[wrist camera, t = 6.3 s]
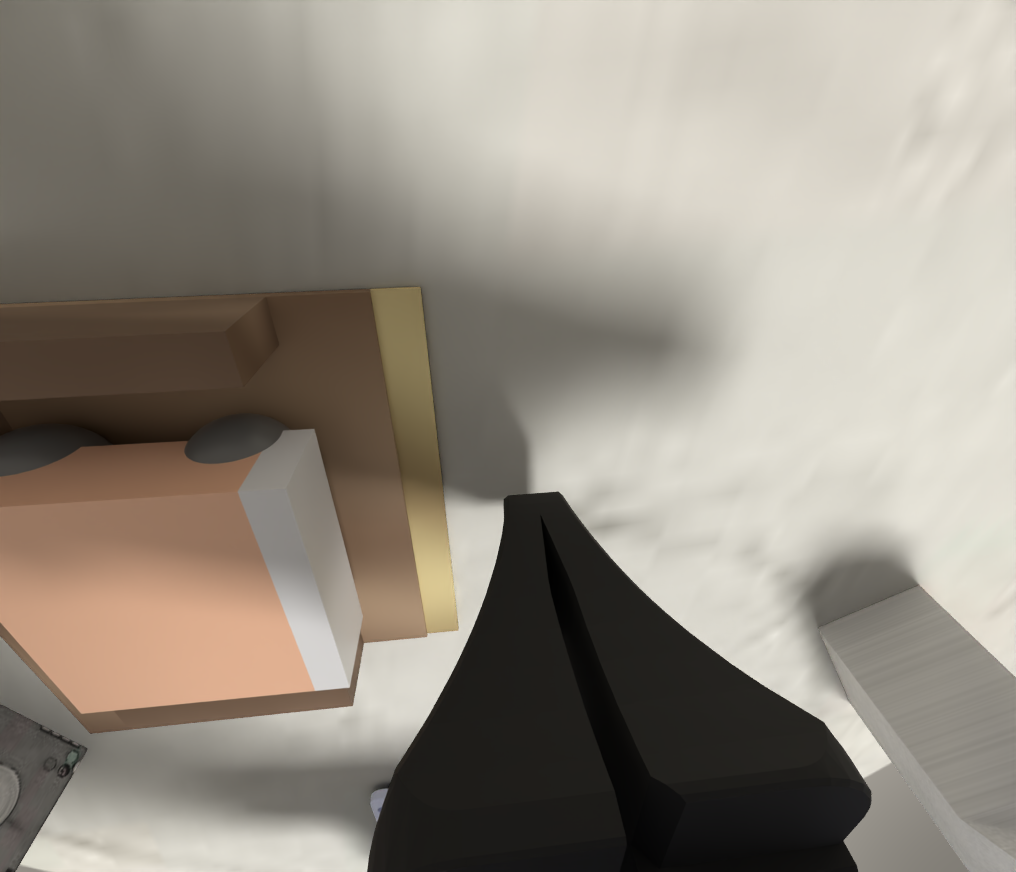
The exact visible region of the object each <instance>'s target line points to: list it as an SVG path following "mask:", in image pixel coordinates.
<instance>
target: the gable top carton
mask: <svg viewBox="0 0 1016 872" xmlns="http://www.w3.org/2000/svg"><path fill="white" fill-rule="evenodd" d="M818 630H819V632H820V635H821V637H822V639H823V642H824V644H825V646H826V648H827V651H828V653H829V655H830V658H831V660H832V662H833V665H834V667H835V669H836V671H837V674H838V676H839V678H840V681H841V683H842V685H843V688H844V690H845V692H846V694H847V697H848V699H849V701H850V703H851V705H852V706H853V708H854V709H855V711H856V712H857V713H858V715H859V716H860V718H861V719H862V720H863V722H864V723H865V725H866V726H867V728H868V729H869V730H870V732H871V733H872V735H873V736H874V737H875V739H876V740H877V742H878V743H879V745H880V746H881V747H882V749H883V750H884V752H885V753H886V754H887V756H888V757H889V759H890V760H891V762H892V763H893V764H894V766H895V767H896V769H897V770H898V771H899V773H900V774H901V776H902V777H903V778H904V780H905V781H906V783H907V784H908V786H909V787H910V788H911V790H912V791H913V793H914V794H915V796H916V797H917V798H918V800H919V801H920V803H921V804H922V806H923V807H924V808H925V810H926V811H927V813H928V814H929V815H930V817H931V818H932V820H933V821H934V823H935V824H936V825H937V827H938V828H939V830H940V831H941V833H942V834H943V835H944V837H945V838H946V840H947V841H948V842H949V844H950V845H951V847H952V848H953V849H954V851H955V852H956V854H957V855H958V857H959V858H960V859H961V861H962V862H963V864H964V865H965V866H966V868H967V869H968V871H969V872H1016V677H1015V676H1014V675H1013V674H1011V673H1010V672H1009V671H1008V670H1007V669H1006V668H1005V667H1004V666H1003V665H1002V664H1001V663H1000V662H999V661H998V660H997V659H996V658H995V657H994V656H993V655H992V654H991V653H990V652H988V651H987V650H986V649H985V648H984V647H983V646H982V645H981V644H980V643H979V642H978V641H977V640H976V639H975V638H974V637H973V636H972V635H971V634H970V633H969V632H968V631H967V630H965V629H964V628H963V627H962V626H961V625H960V624H959V623H958V622H957V621H956V620H955V619H954V618H953V617H952V616H951V615H950V614H949V613H948V612H947V611H946V610H945V609H944V608H942V607H941V606H940V605H939V604H938V603H937V602H936V601H935V600H934V599H933V598H932V597H931V596H930V595H929V594H928V593H927V592H926V591H925V590H924V589H923V588H922V587H921V586H920V585H918V586H915V587H913V588H911V589H908V590H906V591H904V592H901V593H899V594H896V595H894V596H892V597H889V598H887V599H885V600H882V601H880V602H877V603H875V604H873V605H870V606H868V607H866V608H863V609H861V610H859V611H856V612H854V613H851V614H849V615H847V616H844V617H842V618H840V619H837V620H835V621H832V622H830V623H828V624H825V625H823V626H821V627H818Z"/></svg>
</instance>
